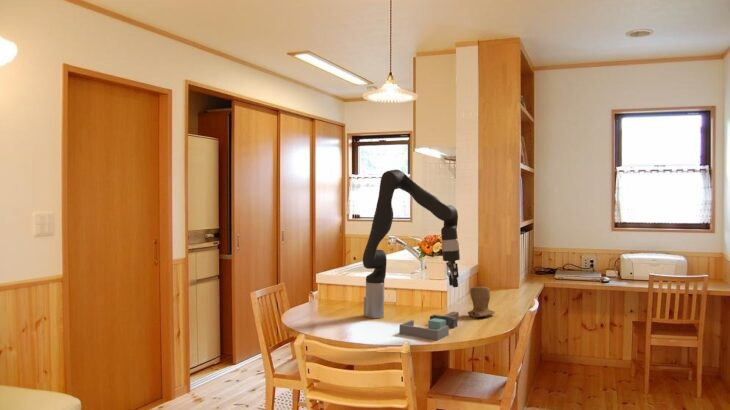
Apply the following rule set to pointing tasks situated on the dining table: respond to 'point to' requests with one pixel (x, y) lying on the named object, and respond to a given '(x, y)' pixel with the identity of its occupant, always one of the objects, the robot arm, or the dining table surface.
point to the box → (423, 331)
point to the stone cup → (480, 302)
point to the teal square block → (436, 323)
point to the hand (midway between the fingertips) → (453, 286)
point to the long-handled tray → (448, 318)
